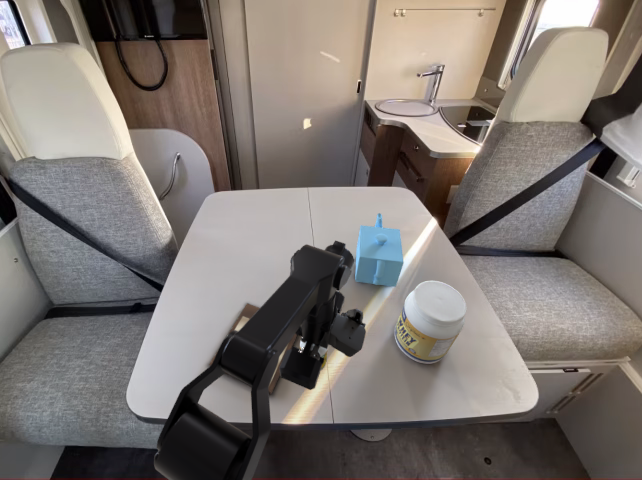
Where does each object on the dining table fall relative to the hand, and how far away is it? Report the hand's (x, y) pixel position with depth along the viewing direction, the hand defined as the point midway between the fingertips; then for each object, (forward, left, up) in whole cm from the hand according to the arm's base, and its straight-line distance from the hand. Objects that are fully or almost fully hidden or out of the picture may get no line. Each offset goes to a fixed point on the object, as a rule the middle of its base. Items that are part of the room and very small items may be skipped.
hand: (313, 354), depth 61 cm
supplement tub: (+19, -21, -12) cm, 31 cm away
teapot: (+39, -6, -12) cm, 41 cm away
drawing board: (+3, +15, -12) cm, 19 cm away
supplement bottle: (0, 0, -3) cm, 3 cm away
